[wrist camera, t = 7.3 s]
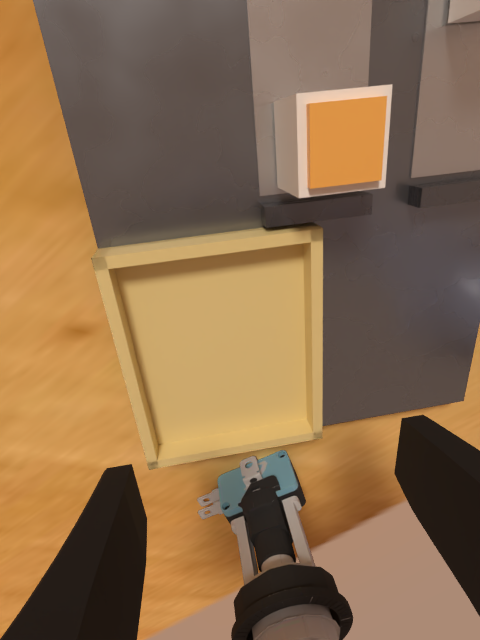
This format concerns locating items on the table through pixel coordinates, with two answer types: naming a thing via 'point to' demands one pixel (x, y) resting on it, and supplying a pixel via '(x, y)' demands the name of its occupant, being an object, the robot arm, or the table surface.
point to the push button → (276, 556)
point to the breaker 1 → (332, 140)
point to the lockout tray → (219, 339)
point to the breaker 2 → (464, 11)
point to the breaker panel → (261, 169)
